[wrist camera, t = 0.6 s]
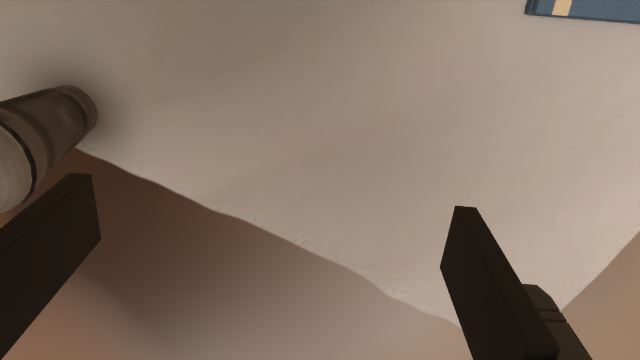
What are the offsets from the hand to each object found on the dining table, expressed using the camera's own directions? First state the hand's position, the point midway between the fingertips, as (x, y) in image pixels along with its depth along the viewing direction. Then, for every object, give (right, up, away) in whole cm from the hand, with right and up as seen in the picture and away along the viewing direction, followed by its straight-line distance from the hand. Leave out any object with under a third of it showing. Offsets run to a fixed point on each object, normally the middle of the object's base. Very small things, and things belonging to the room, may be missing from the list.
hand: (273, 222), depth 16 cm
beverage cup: (-20, +8, +23) cm, 32 cm away
